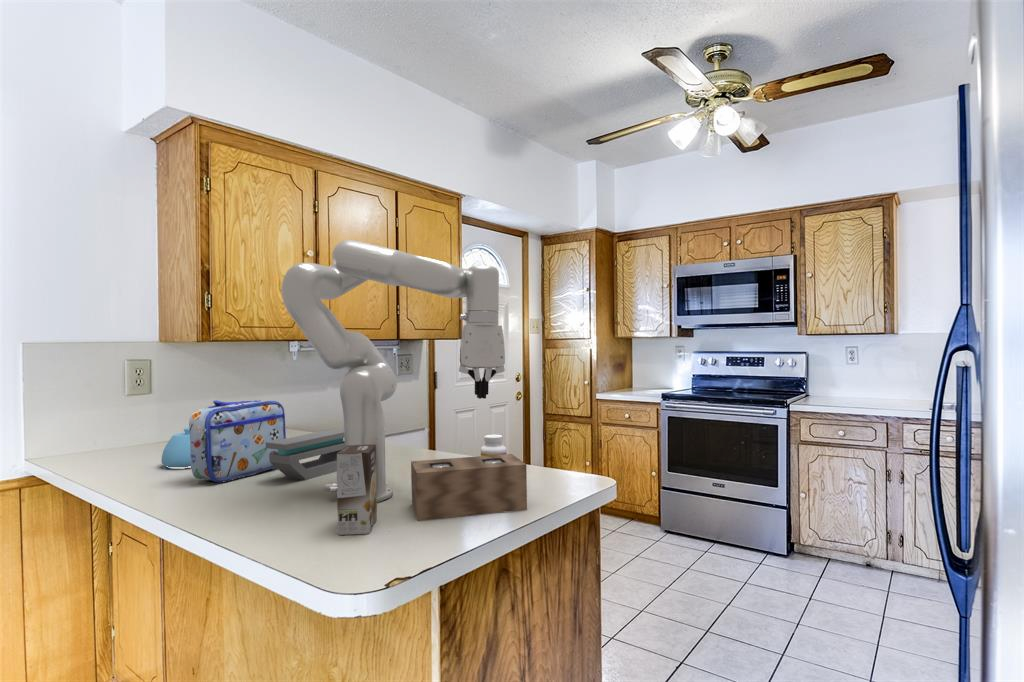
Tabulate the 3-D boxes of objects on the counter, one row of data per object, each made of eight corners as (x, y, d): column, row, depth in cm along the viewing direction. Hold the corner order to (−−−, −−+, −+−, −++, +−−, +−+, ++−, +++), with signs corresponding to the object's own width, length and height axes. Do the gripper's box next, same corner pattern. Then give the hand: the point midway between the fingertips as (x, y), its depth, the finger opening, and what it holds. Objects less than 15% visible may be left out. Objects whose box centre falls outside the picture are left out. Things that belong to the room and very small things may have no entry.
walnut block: (417, 520, 117) (416, 473, 117) (411, 504, 129) (411, 461, 129) (527, 509, 124) (526, 464, 124) (512, 495, 136) (511, 453, 136)
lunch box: (207, 489, 146) (205, 404, 146) (181, 485, 150) (180, 403, 150) (291, 466, 170) (289, 394, 170) (266, 464, 175) (265, 393, 175)
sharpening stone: (335, 463, 174) (334, 428, 174) (354, 466, 170) (353, 430, 170) (266, 482, 152) (265, 442, 152) (286, 485, 148) (285, 444, 148)
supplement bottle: (503, 489, 141) (503, 438, 141) (478, 488, 142) (477, 438, 142) (509, 483, 147) (508, 434, 147) (484, 482, 149) (484, 433, 149)
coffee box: (370, 534, 110) (369, 452, 110) (336, 535, 109) (335, 453, 109) (377, 519, 119) (376, 443, 119) (346, 520, 118) (345, 444, 118)
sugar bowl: (181, 460, 183) (180, 424, 183) (226, 459, 183) (225, 424, 183) (150, 470, 168) (149, 432, 168) (199, 470, 168) (198, 431, 168)
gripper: (452, 318, 125) (451, 400, 125) (517, 319, 129) (516, 399, 129) (448, 319, 133) (447, 396, 133) (509, 320, 136) (508, 395, 136)
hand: (481, 397), depth 131 cm, fingers closed
